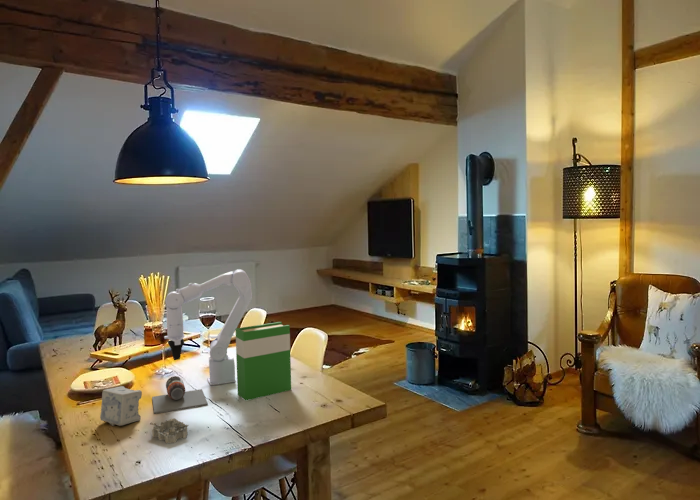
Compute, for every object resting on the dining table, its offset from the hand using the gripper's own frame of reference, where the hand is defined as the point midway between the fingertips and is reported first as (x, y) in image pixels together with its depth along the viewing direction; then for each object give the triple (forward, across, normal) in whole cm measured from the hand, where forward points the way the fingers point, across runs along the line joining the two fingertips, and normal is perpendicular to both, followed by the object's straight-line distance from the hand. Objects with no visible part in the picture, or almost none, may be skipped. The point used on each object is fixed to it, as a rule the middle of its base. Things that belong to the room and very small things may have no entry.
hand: (176, 359), depth 188 cm
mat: (+10, +17, -1) cm, 20 cm away
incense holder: (+10, +26, -19) cm, 34 cm away
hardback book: (+10, +22, +28) cm, 37 cm away
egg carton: (+11, +43, -6) cm, 45 cm away
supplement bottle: (+7, +8, -2) cm, 10 cm away
